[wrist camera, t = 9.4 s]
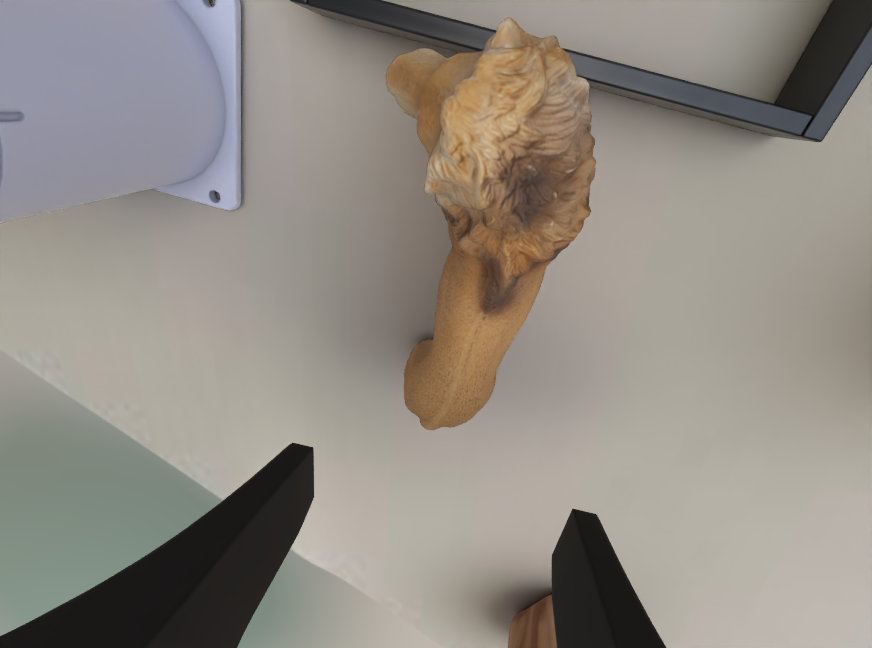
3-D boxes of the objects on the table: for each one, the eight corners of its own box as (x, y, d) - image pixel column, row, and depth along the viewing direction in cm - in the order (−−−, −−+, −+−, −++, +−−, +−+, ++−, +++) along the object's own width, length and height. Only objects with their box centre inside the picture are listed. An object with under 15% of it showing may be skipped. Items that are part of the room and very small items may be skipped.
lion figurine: (439, 48, 15) (346, -18, 7) (594, 62, 14) (691, 7, 6) (412, 385, 22) (352, 545, 14) (515, 404, 21) (514, 582, 13)
